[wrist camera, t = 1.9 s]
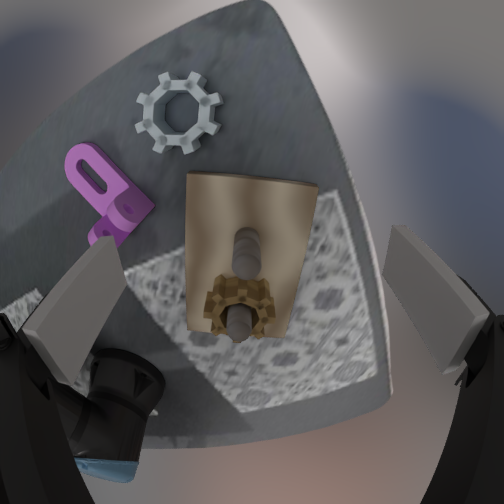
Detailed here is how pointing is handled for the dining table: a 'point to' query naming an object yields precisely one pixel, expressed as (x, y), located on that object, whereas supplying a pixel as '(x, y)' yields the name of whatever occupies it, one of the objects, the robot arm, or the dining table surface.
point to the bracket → (107, 193)
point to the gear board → (245, 210)
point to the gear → (156, 112)
